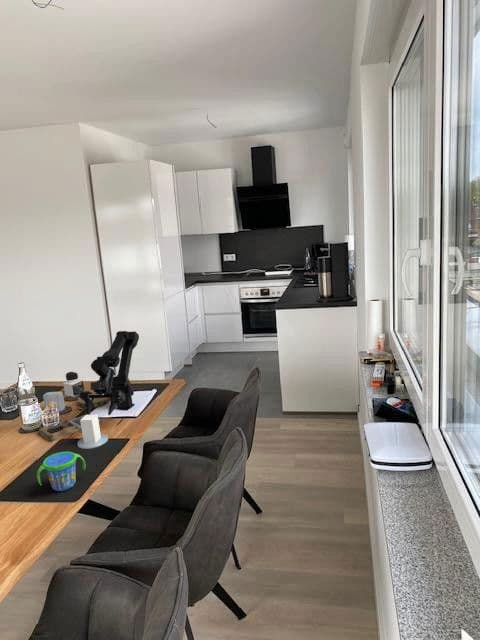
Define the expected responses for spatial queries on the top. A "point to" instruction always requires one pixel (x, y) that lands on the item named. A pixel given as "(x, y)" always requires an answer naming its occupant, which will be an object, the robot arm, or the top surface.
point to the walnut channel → (59, 434)
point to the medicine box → (54, 399)
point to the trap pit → (77, 422)
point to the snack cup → (61, 470)
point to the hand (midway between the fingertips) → (98, 415)
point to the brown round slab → (94, 402)
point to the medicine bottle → (73, 384)
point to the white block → (90, 428)
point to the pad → (93, 445)
